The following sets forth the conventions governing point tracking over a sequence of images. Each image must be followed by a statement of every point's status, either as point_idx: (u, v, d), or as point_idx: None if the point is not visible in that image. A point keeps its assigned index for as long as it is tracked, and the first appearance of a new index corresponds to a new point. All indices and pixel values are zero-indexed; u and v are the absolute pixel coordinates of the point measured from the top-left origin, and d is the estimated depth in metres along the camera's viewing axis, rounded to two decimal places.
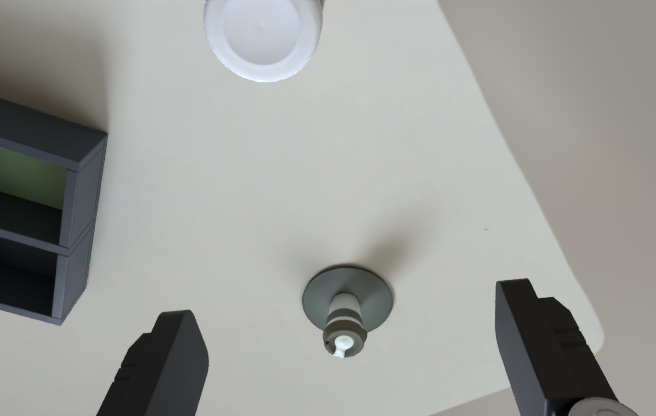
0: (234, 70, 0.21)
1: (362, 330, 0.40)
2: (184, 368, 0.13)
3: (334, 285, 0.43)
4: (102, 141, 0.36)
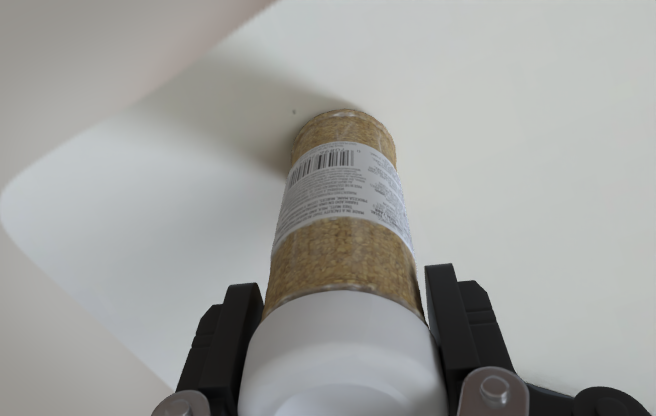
0: None
1: None
2: None
3: None
4: None
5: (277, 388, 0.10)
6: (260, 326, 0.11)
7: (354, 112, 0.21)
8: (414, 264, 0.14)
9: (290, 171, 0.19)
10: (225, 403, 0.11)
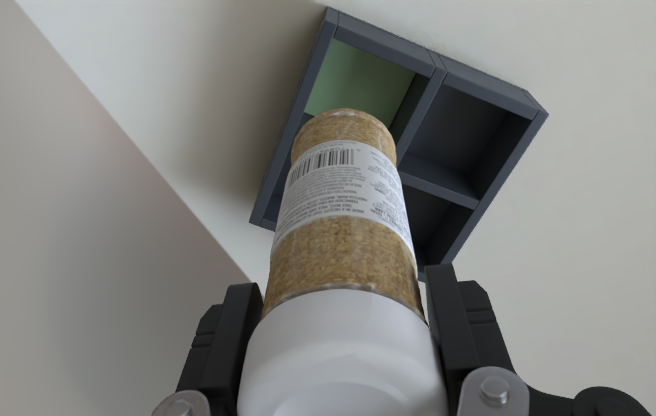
0: None
1: None
2: None
3: None
4: (329, 9, 0.33)
5: (276, 387, 0.10)
6: (259, 325, 0.11)
7: (354, 111, 0.21)
8: (414, 263, 0.14)
9: (290, 170, 0.19)
10: (225, 403, 0.11)
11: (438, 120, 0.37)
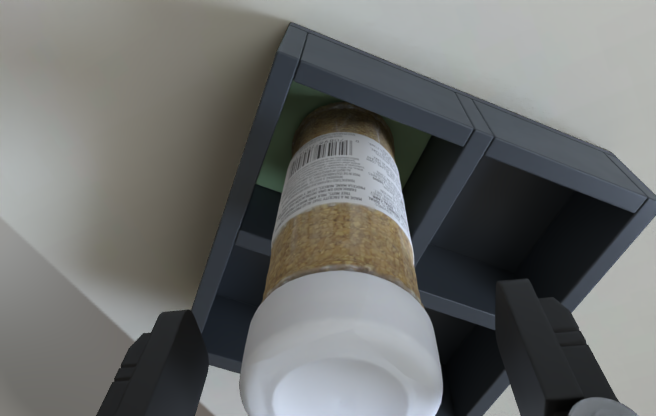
0: None
1: None
2: (184, 368, 0.13)
3: None
4: (292, 28, 0.20)
5: (277, 363, 0.11)
6: (261, 306, 0.12)
7: None
8: (411, 249, 0.15)
9: (290, 161, 0.19)
10: None
11: (470, 196, 0.24)
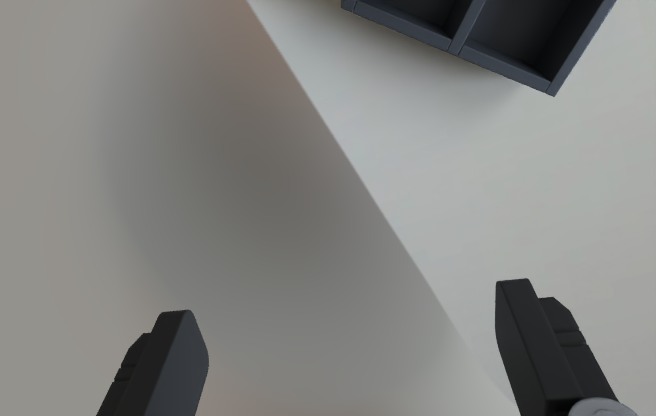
0: None
1: None
2: (184, 368, 0.13)
3: None
4: None
5: None
6: None
7: None
8: None
9: None
10: None
11: None
